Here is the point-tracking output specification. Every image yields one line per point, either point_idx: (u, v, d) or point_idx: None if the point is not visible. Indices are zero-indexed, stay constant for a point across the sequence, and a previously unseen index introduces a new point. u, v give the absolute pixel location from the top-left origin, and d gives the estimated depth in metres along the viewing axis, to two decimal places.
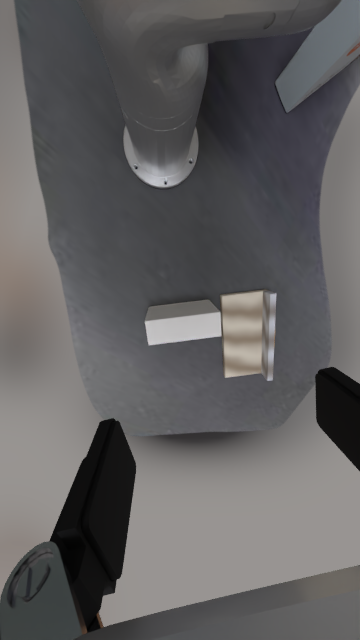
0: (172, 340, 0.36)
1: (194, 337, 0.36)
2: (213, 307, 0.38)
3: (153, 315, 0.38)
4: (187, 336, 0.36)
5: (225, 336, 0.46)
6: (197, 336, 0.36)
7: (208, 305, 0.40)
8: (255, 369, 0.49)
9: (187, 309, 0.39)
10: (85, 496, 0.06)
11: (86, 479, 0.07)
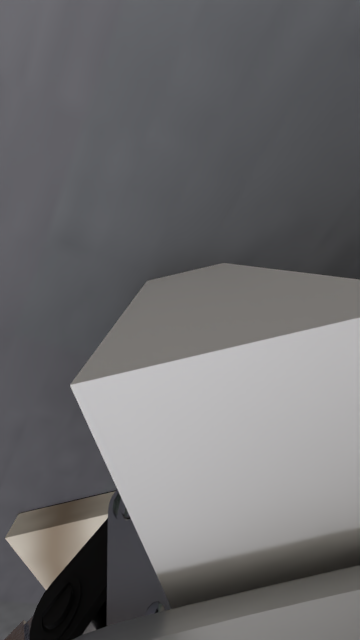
0: (182, 583, 0.04)
1: None
2: None
3: None
4: None
5: None
6: None
7: None
8: None
9: None
10: None
11: None
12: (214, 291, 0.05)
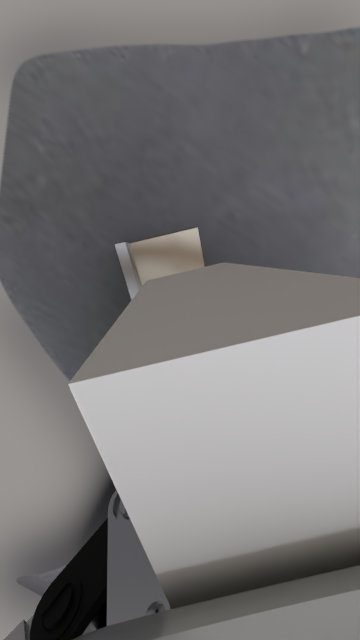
0: (181, 583, 0.04)
1: None
2: None
3: None
4: None
5: None
6: None
7: None
8: (143, 250, 0.26)
9: None
10: None
11: None
12: (213, 290, 0.05)
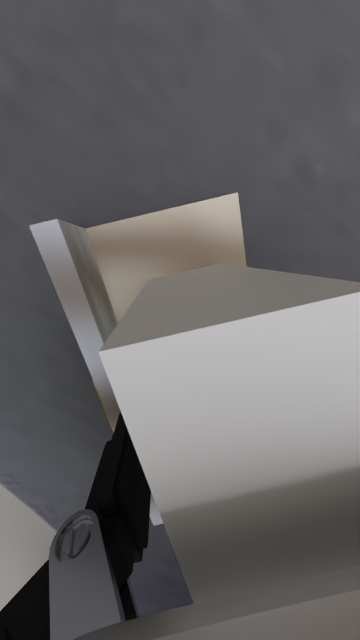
0: (179, 521, 0.04)
1: None
2: None
3: None
4: (217, 585, 0.05)
5: None
6: None
7: None
8: (118, 243, 0.12)
9: None
10: (116, 471, 0.07)
11: (115, 457, 0.07)
12: (208, 287, 0.06)
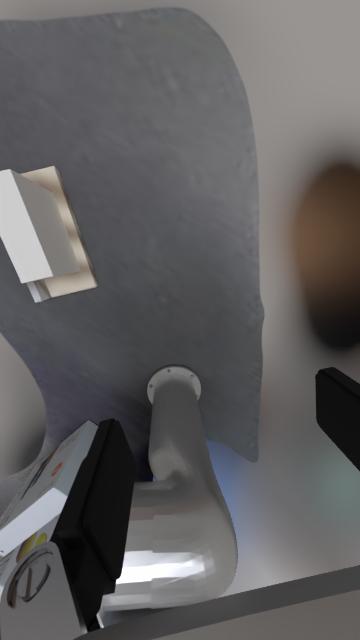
0: None
1: (8, 246, 0.27)
2: (62, 271, 0.32)
3: (30, 189, 0.28)
4: (6, 236, 0.27)
5: (75, 236, 0.37)
6: (10, 251, 0.28)
7: (66, 266, 0.33)
8: None
9: (54, 239, 0.31)
10: (85, 496, 0.06)
11: (86, 479, 0.07)
12: None
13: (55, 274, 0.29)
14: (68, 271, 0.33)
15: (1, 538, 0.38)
